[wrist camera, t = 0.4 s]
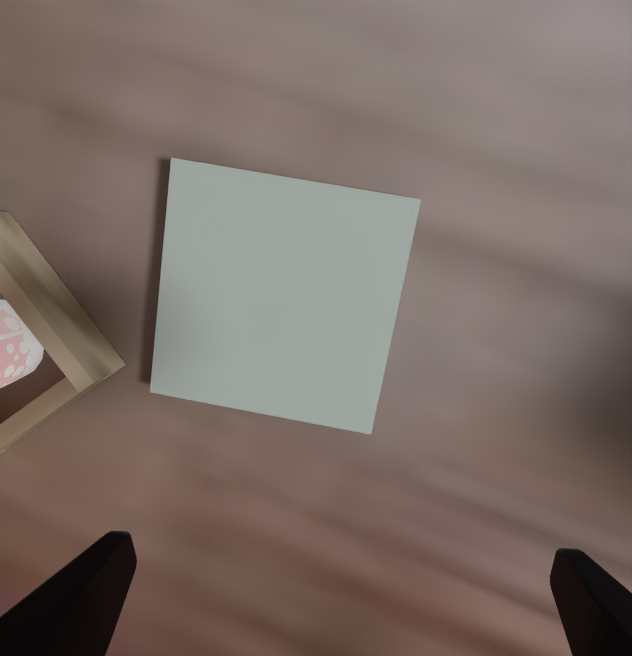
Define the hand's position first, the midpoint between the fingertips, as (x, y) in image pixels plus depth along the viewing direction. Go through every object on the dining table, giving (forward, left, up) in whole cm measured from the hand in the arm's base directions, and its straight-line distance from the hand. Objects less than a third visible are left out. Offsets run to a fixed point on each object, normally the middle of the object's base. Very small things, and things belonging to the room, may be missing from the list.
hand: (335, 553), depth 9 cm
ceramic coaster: (+3, +4, -14) cm, 15 cm away
